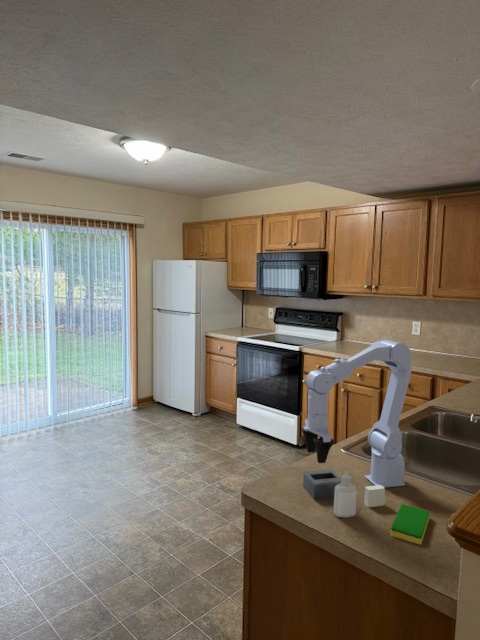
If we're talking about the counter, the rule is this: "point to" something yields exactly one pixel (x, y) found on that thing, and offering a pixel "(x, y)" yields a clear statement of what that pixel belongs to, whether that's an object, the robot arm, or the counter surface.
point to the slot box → (321, 483)
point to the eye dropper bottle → (345, 497)
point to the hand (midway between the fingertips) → (316, 457)
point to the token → (374, 496)
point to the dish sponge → (410, 524)
